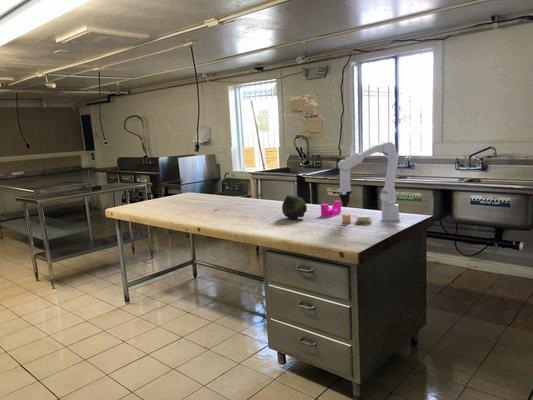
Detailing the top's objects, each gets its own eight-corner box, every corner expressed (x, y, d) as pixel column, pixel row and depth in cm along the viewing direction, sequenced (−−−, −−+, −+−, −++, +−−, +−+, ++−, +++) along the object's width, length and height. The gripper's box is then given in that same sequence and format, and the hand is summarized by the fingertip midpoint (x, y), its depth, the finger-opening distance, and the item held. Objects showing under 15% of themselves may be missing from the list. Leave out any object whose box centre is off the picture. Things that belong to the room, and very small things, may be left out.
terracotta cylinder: (351, 221, 239) (350, 214, 238) (350, 223, 234) (349, 215, 234) (343, 221, 240) (342, 214, 239) (342, 223, 236) (341, 215, 235)
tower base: (371, 222, 237) (371, 218, 236) (370, 225, 229) (370, 221, 229) (357, 222, 239) (357, 218, 239) (355, 225, 232) (355, 221, 231)
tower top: (369, 218, 236) (369, 214, 236) (368, 221, 230) (368, 217, 230) (358, 218, 238) (358, 214, 237) (357, 221, 232) (357, 217, 232)
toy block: (329, 217, 254) (328, 205, 253) (321, 216, 259) (320, 204, 257) (344, 213, 264) (343, 201, 263) (336, 212, 269) (335, 200, 267)
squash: (296, 222, 246) (295, 197, 243) (277, 219, 256) (276, 195, 253) (311, 217, 256) (310, 193, 253) (293, 215, 266) (291, 192, 263)
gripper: (339, 179, 241) (340, 202, 243) (335, 183, 228) (336, 207, 230) (352, 179, 239) (352, 202, 241) (349, 183, 225) (349, 207, 228)
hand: (345, 205), depth 235 cm, fingers open, 7 cm apart
